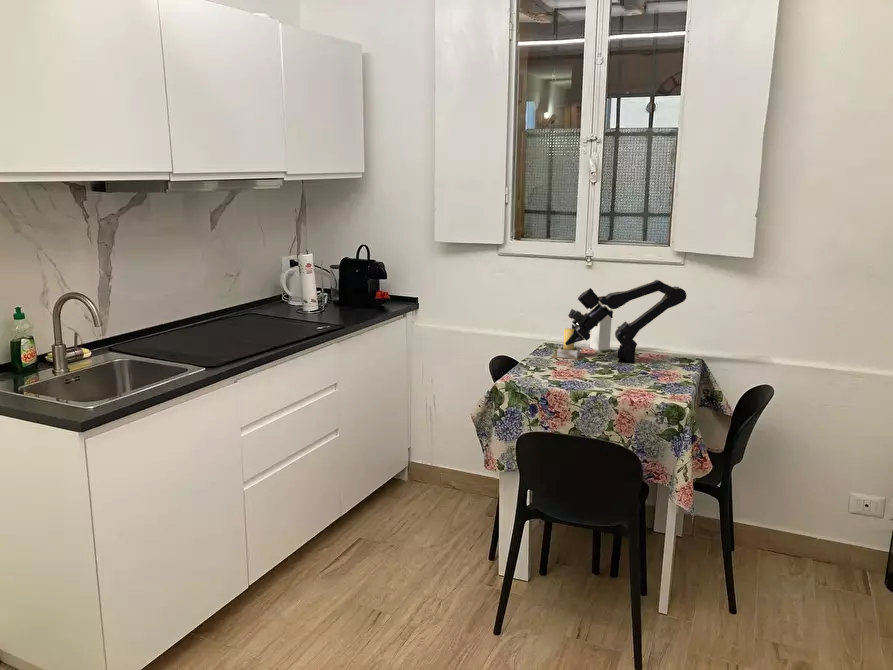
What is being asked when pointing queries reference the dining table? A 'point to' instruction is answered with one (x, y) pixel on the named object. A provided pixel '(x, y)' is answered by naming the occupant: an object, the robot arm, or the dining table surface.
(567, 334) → the post
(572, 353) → the stand
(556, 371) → the dining table surface
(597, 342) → the milk
